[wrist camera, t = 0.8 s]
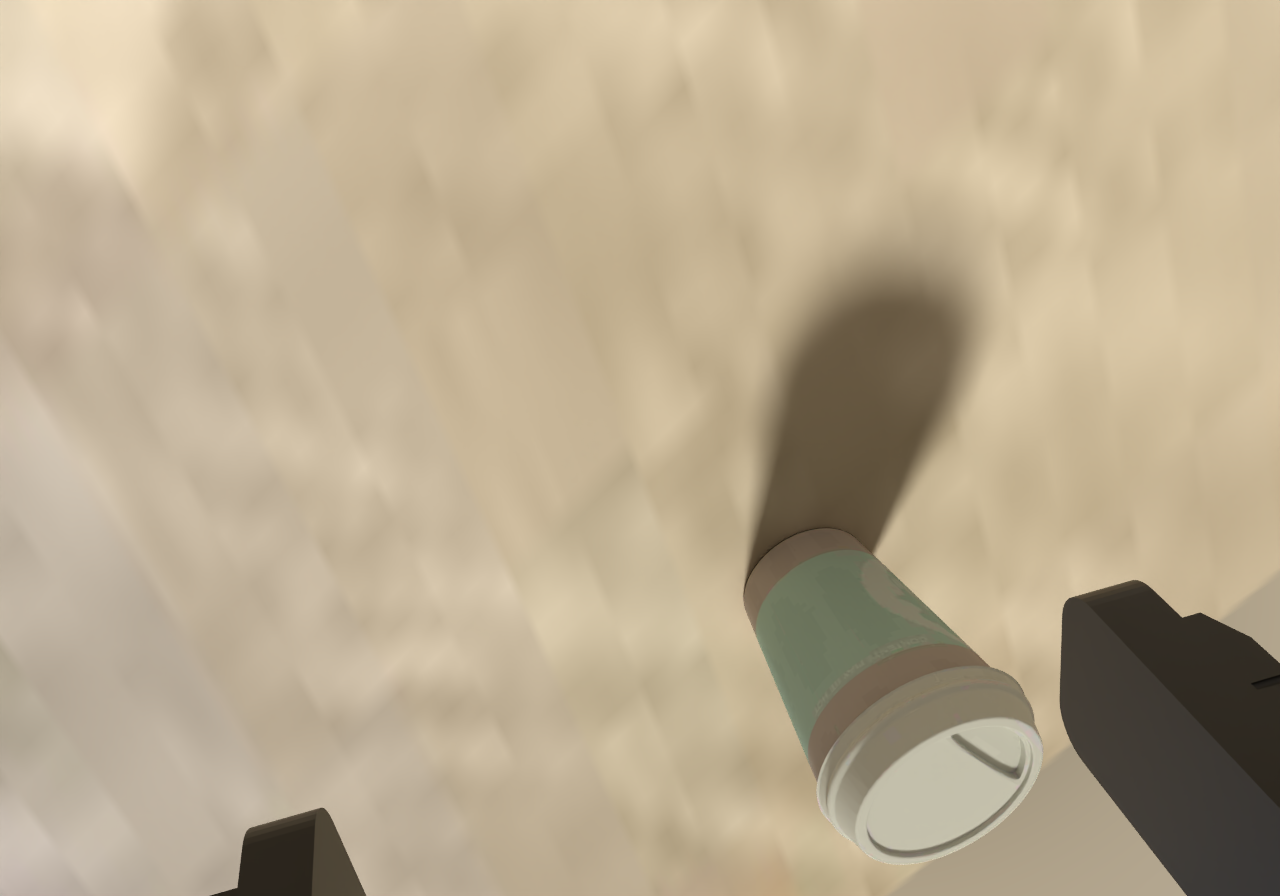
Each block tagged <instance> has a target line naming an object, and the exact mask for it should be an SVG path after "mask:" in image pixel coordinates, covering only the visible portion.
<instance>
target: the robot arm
mask: <svg viewBox="0 0 1280 896" xmlns="http://www.w3.org/2000/svg"><path fill="white" fill-rule="evenodd" d="M1060 709H1061V714H1062V719H1063V722H1064V726H1065V729H1066V731H1067V734H1068V736H1069V739H1070V741H1071V743H1072V745H1073V747H1074V749H1075V750H1076V752H1077V754H1078V755H1079V757H1080V758H1081V759H1082V761H1083V762H1084V763H1085V765H1086V766H1087V767H1088V769H1089V770H1090V771H1091V773H1092V774H1093V775H1094V777H1095V778H1096V779H1097V780H1098V781H1099V783H1100V784H1101V786H1102V787H1103V788H1104V789H1105V790H1106V792H1107V793H1108V794H1109V796H1110V797H1111V798H1112V800H1113V801H1114V802H1115V804H1116V805H1117V806H1118V807H1119V809H1120V810H1121V811H1122V813H1123V814H1124V815H1125V816H1126V818H1127V819H1128V820H1129V822H1130V823H1131V824H1132V825H1133V827H1134V828H1135V829H1136V831H1137V832H1138V833H1139V835H1140V836H1141V837H1142V838H1143V840H1144V841H1145V842H1146V843H1147V845H1148V846H1149V847H1150V849H1151V850H1152V851H1153V853H1154V854H1155V855H1156V856H1157V858H1158V859H1159V860H1160V862H1161V863H1162V864H1163V865H1164V867H1165V868H1166V869H1167V871H1168V872H1169V873H1170V874H1171V876H1172V877H1173V878H1174V880H1175V881H1176V882H1177V883H1178V885H1179V886H1180V887H1181V888H1182V890H1183V891H1184V892H1185V894H1186V895H1187V896H1280V663H1279V662H1278V661H1277V660H1276V659H1274V658H1273V657H1272V656H1271V655H1270V654H1268V652H1267V651H1266V650H1264V649H1263V648H1262V647H1261V646H1260V645H1259V644H1258V643H1257V642H1256V641H1254V640H1253V639H1252V638H1251V637H1249V636H1247V635H1245V634H1243V633H1241V632H1239V631H1237V630H1235V629H1233V628H1231V627H1229V626H1227V625H1225V624H1223V623H1220V622H1218V621H1216V620H1214V619H1212V618H1210V617H1208V616H1206V615H1204V614H1202V613H1197V614H1194V615H1190V616H1187V617H1183V618H1182V617H1181V616H1180V615H1179V614H1178V613H1177V612H1176V611H1174V610H1173V609H1172V608H1171V607H1170V606H1169V605H1168V604H1167V603H1166V602H1165V601H1164V600H1163V599H1162V598H1161V597H1160V596H1159V595H1158V594H1157V593H1156V592H1155V591H1154V590H1153V589H1151V588H1150V587H1149V586H1148V585H1146V584H1145V583H1143V582H1141V581H1138V580H1132V581H1128V582H1125V583H1121V584H1118V585H1114V586H1111V587H1107V588H1104V589H1100V590H1096V591H1093V592H1089V593H1086V594H1082V595H1079V596H1075V597H1072V598H1069V599H1068V600H1067V601H1066V603H1065V604H1064V608H1063V614H1062V642H1061V674H1060ZM211 896H366V894H365V892H364V890H363V888H362V885H361V883H360V881H359V879H358V876H357V874H356V872H355V870H354V868H353V865H352V863H351V861H350V859H349V856H348V854H347V852H346V850H345V847H344V845H343V843H342V841H341V839H340V836H339V834H338V832H337V830H336V827H335V825H334V823H333V821H332V819H331V817H330V815H329V813H328V812H327V811H326V810H325V809H324V808H319V809H315V810H312V811H308V812H305V813H301V814H298V815H294V816H291V817H287V818H284V819H280V820H277V821H273V822H270V823H266V824H262V825H259V826H255V827H252V828H249V829H248V830H247V832H246V834H245V837H244V841H243V847H242V855H241V863H240V872H239V880H238V888H235V889H232V890H228V891H225V892H221V893H218V894H214V895H211Z"/></svg>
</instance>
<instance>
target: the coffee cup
mask: <svg viewBox="0 0 1280 896" xmlns="http://www.w3.org/2000/svg"><path fill="white" fill-rule="evenodd" d="M744 606H745V610H746V612H747V615H748V617H749V620H750V622H751V625H752V627H753V630H754V632H755V634H756V637H757V639H758V642H759V644H760V647H761V649H762V652H763V654H764V656H765V659H766V661H767V664H768V666H769V668H770V671H771V673H772V676H773V678H774V680H775V683H776V685H777V688H778V690H779V692H780V695H781V697H782V699H783V702H784V704H785V707H786V709H787V711H788V714H789V716H790V719H791V721H792V723H793V726H794V728H795V731H796V733H797V735H798V738H799V740H800V743H801V745H802V747H803V750H804V752H805V755H806V757H807V759H808V762H809V764H810V767H811V769H812V771H813V774H814V776H815V778H816V781H817V800H818V804H819V807H820V809H821V811H822V813H823V815H824V816H825V817H826V818H827V819H828V820H829V821H830V822H831V823H832V825H833V826H834V828H835V829H836V830H837V831H838V832H839V833H840V834H841V835H842V836H844V837H845V838H847V839H848V840H850V841H853V842H854V843H855V844H856V845H857V846H858V847H859V848H860V849H861V850H862V851H863V852H864V853H865V854H867V855H868V856H869V857H871V858H873V859H875V860H877V861H880V862H883V863H888V864H896V865H907V864H916V863H921V862H926V861H930V860H933V859H937V858H940V857H943V856H945V855H948V854H950V853H953V852H955V851H957V850H959V849H961V848H963V847H965V846H967V845H969V844H971V843H972V842H974V841H976V840H978V839H979V838H980V837H982V836H984V835H985V834H987V833H988V832H989V831H991V830H992V829H993V828H995V827H996V826H997V825H998V824H999V823H1001V822H1002V821H1003V820H1004V819H1005V818H1006V817H1007V816H1008V815H1010V814H1011V813H1012V812H1013V810H1014V809H1015V808H1016V807H1017V806H1018V805H1019V804H1020V802H1021V801H1022V800H1023V799H1024V798H1025V796H1026V795H1027V793H1028V792H1029V791H1030V789H1031V788H1032V786H1033V784H1034V782H1035V780H1036V778H1037V776H1038V774H1039V771H1040V769H1041V765H1042V760H1043V744H1042V740H1041V737H1040V735H1039V733H1038V730H1037V728H1036V726H1035V723H1034V714H1033V710H1032V707H1031V705H1030V703H1029V701H1028V700H1027V698H1026V697H1025V695H1024V692H1023V690H1022V688H1021V686H1020V685H1019V684H1018V682H1017V681H1016V680H1015V679H1014V678H1013V677H1011V676H1010V675H1008V674H1007V673H1005V672H1003V671H1001V670H998V669H995V668H991V667H990V666H989V665H988V664H987V663H986V662H985V661H984V660H982V659H981V658H980V657H979V656H978V655H977V654H976V653H975V652H974V651H973V650H972V649H971V648H970V647H969V646H968V645H967V644H966V643H965V642H964V641H963V640H962V639H961V638H960V637H959V636H958V635H957V634H956V633H954V632H953V631H952V630H951V629H950V628H949V627H948V626H947V625H946V624H945V623H944V622H943V621H942V620H941V619H940V618H939V617H938V616H937V615H936V614H935V613H934V612H933V611H932V610H930V609H929V608H928V607H927V606H926V605H925V604H924V603H923V602H922V601H921V600H920V599H919V598H918V597H917V596H916V595H915V594H914V593H913V592H912V591H911V590H910V589H909V588H908V587H906V586H905V585H904V584H903V583H902V582H901V581H900V580H899V579H898V578H897V577H896V576H895V575H894V574H893V573H892V572H891V571H890V570H889V569H888V568H887V567H886V566H885V565H884V564H882V563H881V562H880V561H879V560H878V559H877V558H876V557H875V556H874V555H873V554H872V553H871V552H870V551H869V550H868V549H867V548H865V547H864V546H863V545H862V544H861V543H860V542H859V541H858V540H857V539H856V538H855V537H854V536H852V535H851V534H849V533H847V532H845V531H842V530H838V529H831V528H820V529H813V530H808V531H805V532H801V533H799V534H796V535H794V536H792V537H790V538H788V539H786V540H784V541H783V542H781V543H780V544H778V545H777V546H775V547H774V548H773V549H771V550H770V551H769V552H768V553H767V554H766V555H765V556H764V557H763V558H762V559H761V560H760V561H759V563H758V564H757V565H756V567H755V568H754V570H753V571H752V573H751V575H750V577H749V579H748V581H747V584H746V588H745V592H744Z"/></svg>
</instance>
